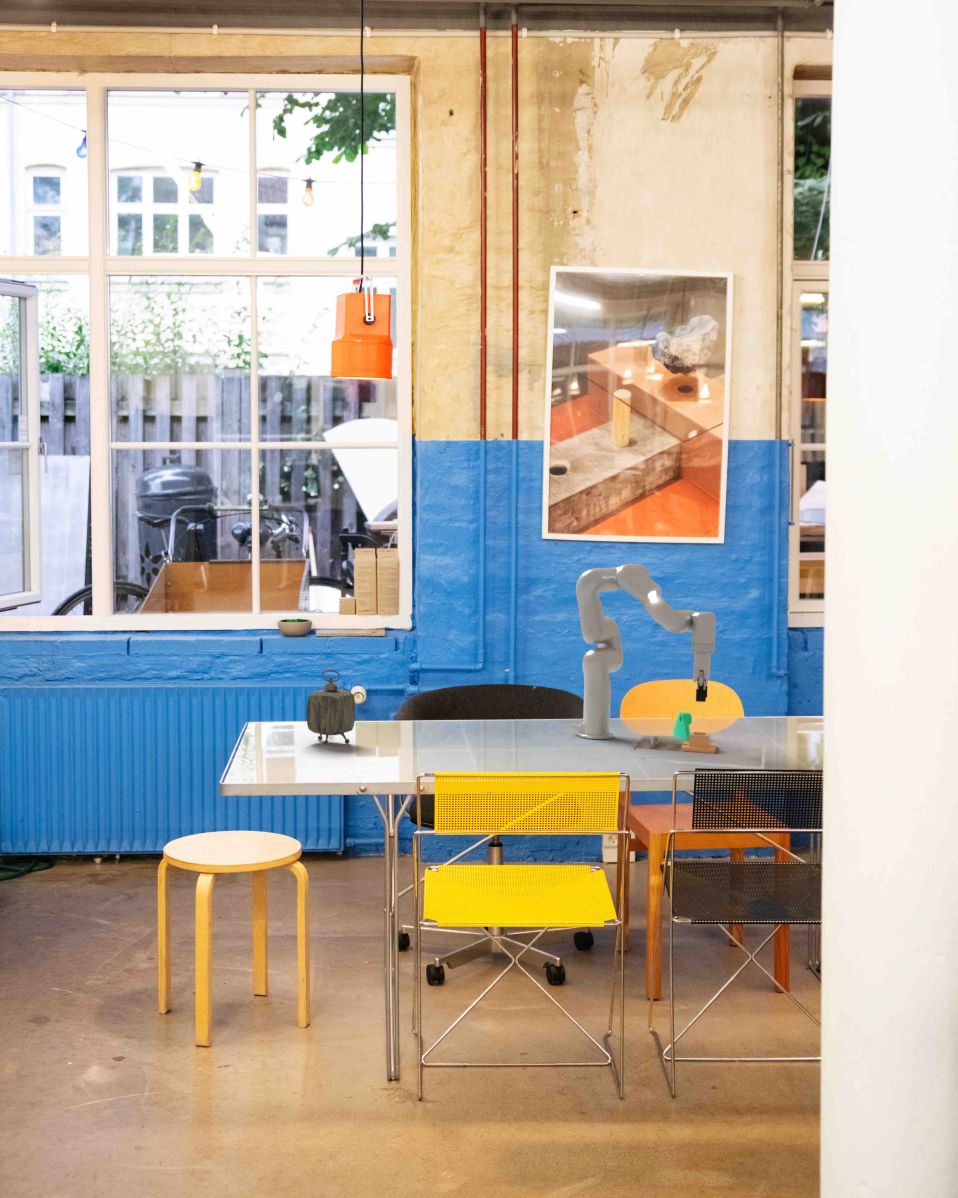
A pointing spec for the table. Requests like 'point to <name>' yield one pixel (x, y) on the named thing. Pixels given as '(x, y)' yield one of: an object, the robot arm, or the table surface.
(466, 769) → the table surface
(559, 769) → the table surface
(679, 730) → the camera mount
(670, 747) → the board
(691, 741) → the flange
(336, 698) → the tabletop clock
